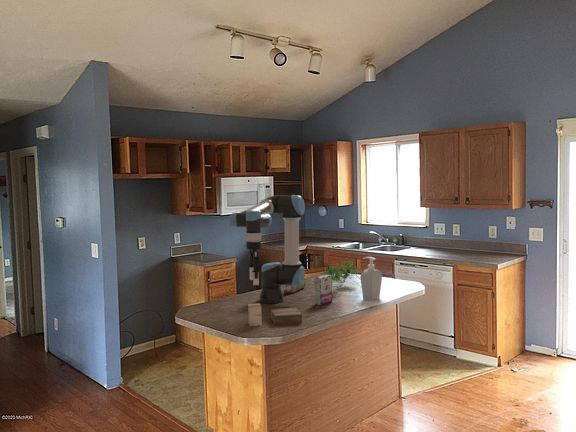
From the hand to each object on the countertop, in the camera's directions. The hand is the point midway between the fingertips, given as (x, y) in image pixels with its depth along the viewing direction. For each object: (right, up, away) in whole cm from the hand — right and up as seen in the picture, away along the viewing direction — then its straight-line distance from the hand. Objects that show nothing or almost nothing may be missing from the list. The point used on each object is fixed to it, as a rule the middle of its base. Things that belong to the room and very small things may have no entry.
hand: (254, 282), depth 261 cm
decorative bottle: (+20, -16, +76) cm, 81 cm away
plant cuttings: (+56, -15, +79) cm, 98 cm away
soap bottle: (+68, -17, +54) cm, 88 cm away
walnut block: (+16, -22, +8) cm, 28 cm away
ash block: (0, -22, +2) cm, 22 cm away
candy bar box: (+38, -18, +44) cm, 61 cm away
